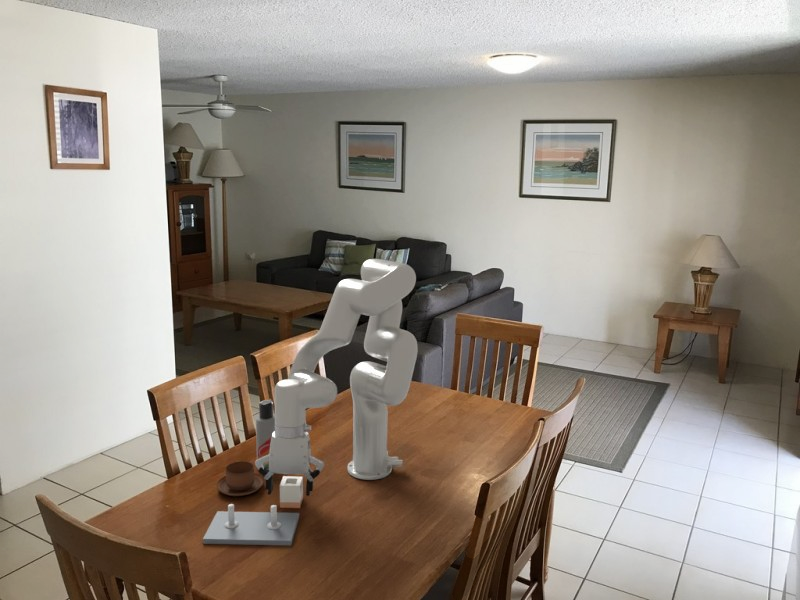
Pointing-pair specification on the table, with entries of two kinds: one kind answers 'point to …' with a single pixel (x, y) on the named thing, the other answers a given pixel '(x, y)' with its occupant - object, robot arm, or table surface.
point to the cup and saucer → (240, 479)
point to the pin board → (252, 527)
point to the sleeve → (291, 492)
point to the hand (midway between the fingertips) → (289, 492)
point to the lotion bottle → (264, 429)
